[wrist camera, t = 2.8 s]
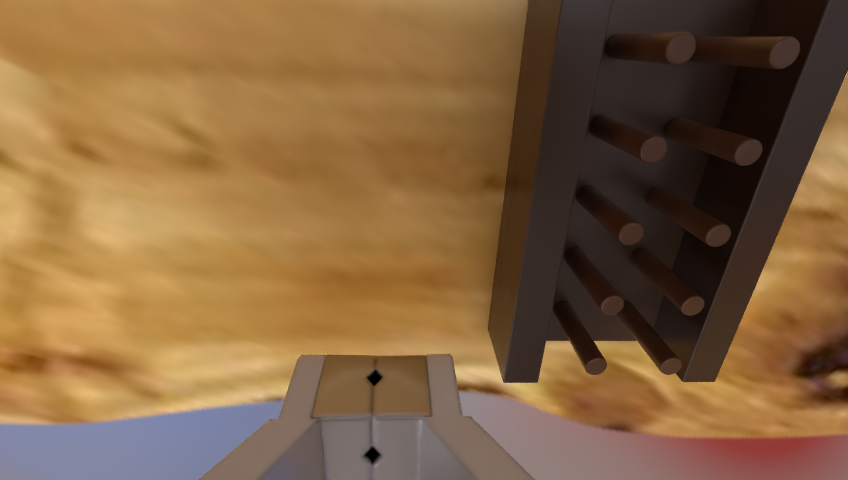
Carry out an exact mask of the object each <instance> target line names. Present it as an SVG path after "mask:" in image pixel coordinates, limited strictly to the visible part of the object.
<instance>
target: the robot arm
mask: <svg viewBox="0 0 848 480" xmlns="http://www.w3.org/2000/svg"><path fill="white" fill-rule="evenodd" d="M459 398H460V397H459V392H458V386H457V380H456V375H455V369H454V363H453V358H452V356H451V355H450V354H429V355H426V356H425V355H403V356H369V355H327V356H326V355H301V356H300V357H299V359H298V360H297V363H296V366H295V369H294V372H293V375H292V378H291V381H290V384H289V387H288V390H287V394H286V397H285V400H284V403H283V406H282V409H281V412H280V415H279V418H278V419H270V420H269V421H267V422H266V423H265V424H264V425H263V426H262V427H261V428H259V429H258V430H257V431H256V432H254V433H253V434H252V435H251V436H250V437H249V438H247V439H246V440H245V441H244V442H243V443H241V444H240V445H239V446H238V447H237V448H236V449H234V450H233V451H232V452H231V453H230V454H229V455H227V456H226V457H225V458H224V459H223V460H221V461H220V462H219V463H218V464H217V465H216V466H214V467H213V468H212V469H211V470H210V471H209V472H207V473H206V474H205V475H204V476H203V477H202V478H200V479H199V480H535V479H534V478H533V477H532V476H531V475H530V474H529V473H528V472H527V471H526V470H525V469H524V468H523V467H522V466H521V465H520V464H519V463H518V462H516V461H515V460H514V459H513V458H512V457H511V456H510V455H509V454H508V453H507V452H506V451H505V450H504V449H503V448H502V447H501V446H500V445H499V444H498V443H497V442H496V441H495V440H494V439H493V438H492V437H491V436H490V435H489V434H488V433H487V432H486V431H485V430H484V429H483V428H482V427H481V426H480V425H479V424H478V423H477V422H476V421H475V420H474V419H473V418H472V417H469V416H466V417H465V416H463V415H462V409H461V403H460V399H459Z"/></svg>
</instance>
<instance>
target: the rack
mask: <svg viewBox="0 0 848 480" xmlns="http://www.w3.org/2000/svg"><path fill="white" fill-rule="evenodd" d="M847 70H848V0H529V2H528V10H527V18H526V26H525V34H524V42H523V50H522V59H521V67H520V75H519V83H518V91H517V99H516V107H515V115H514V123H513V131H512V139H511V147H510V155H509V163H508V171H507V179H506V187H505V195H504V203H503V211H502V219H501V227H500V236H499V244H498V252H497V260H496V268H495V276H494V284H493V292H492V300H491V308H490V316H489V324H488V331H489V334H490V338H491V341H492V345H493V348H494V351H495V355H496V358H497V362H498V365H499V369H500V372H501V375H502V379H503V382H504V383H537V382H538V378H539V373H540V368H541V363H542V358H543V353H544V348H545V343H546V341H570V343H571V344H572V346H573V348H574V350H575V352H576V354H577V355H578V357H579V359H580V361H581V363H582V365H583V366H584V368H585V370H586V372H587V373H589V374H591V375H598V374H600V373H602V372H603V371H604V370H605V369H606V367H607V362H606V360H605V359H604V357H603V356H602V354H601V352H600V351H599V349H598V348H597V346H596V344H595V343H594V341H638V342H639V344H640V345H641V346H642V348H643V349H644V350H645V352H646V353H647V354H648V355H649V357H650V358H651V359H652V361H653V362H654V363H655V364H656V366H657V367H658V368H659V370H660V371H661V372H662V373H664V374H667V375H670V374H674V373H676V374H677V376H678V377H679V378H680V379H681V381H683V382H714V381H715V380H716V378H717V375H718V373H719V371H720V368H721V366H722V364H723V361H724V359H725V357H726V354H727V352H728V349H729V347H730V345H731V342H732V340H733V338H734V335H735V333H736V331H737V328H738V326H739V324H740V321H741V319H742V317H743V314H744V312H745V310H746V307H747V305H748V303H749V300H750V298H751V296H752V293H753V291H754V289H755V286H756V284H757V281H758V279H759V277H760V274H761V272H762V270H763V267H764V265H765V263H766V260H767V258H768V256H769V253H770V251H771V249H772V246H773V244H774V242H775V239H776V237H777V235H778V232H779V230H780V228H781V225H782V223H783V220H784V218H785V216H786V213H787V211H788V209H789V206H790V204H791V202H792V199H793V197H794V195H795V192H796V190H797V188H798V185H799V183H800V181H801V178H802V176H803V174H804V171H805V169H806V167H807V164H808V162H809V160H810V157H811V155H812V152H813V150H814V148H815V145H816V143H817V141H818V138H819V136H820V134H821V131H822V129H823V127H824V124H825V122H826V120H827V117H828V115H829V113H830V110H831V108H832V106H833V103H834V101H835V99H836V96H837V94H838V91H839V89H840V87H841V84H842V82H843V80H844V77H845V75H846V73H847Z"/></svg>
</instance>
